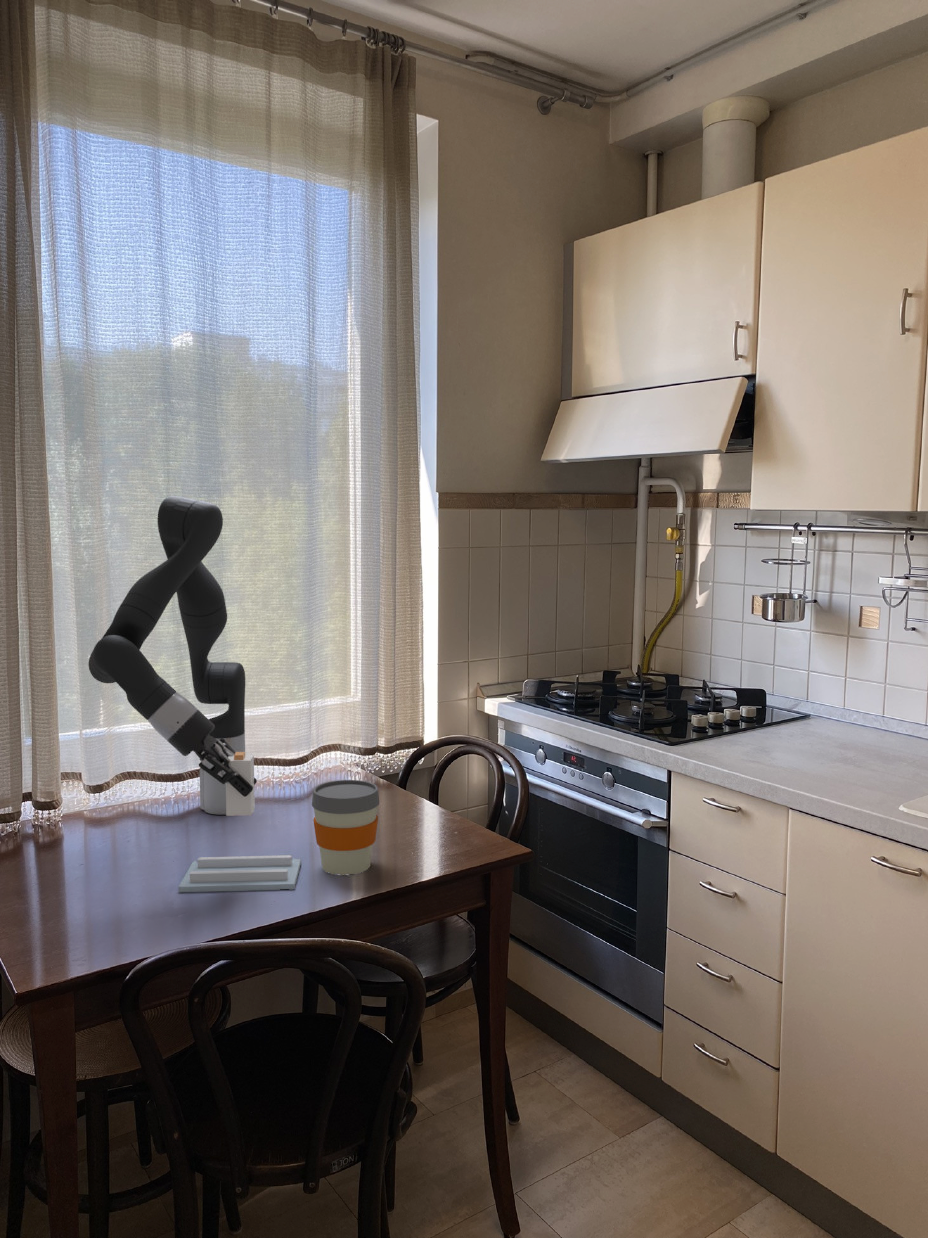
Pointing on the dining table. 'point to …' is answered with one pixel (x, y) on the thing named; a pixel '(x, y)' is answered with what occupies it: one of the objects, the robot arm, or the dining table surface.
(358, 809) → the reusable coffee cup
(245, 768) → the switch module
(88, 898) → the dining table surface
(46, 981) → the dining table surface
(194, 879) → the mounting board
